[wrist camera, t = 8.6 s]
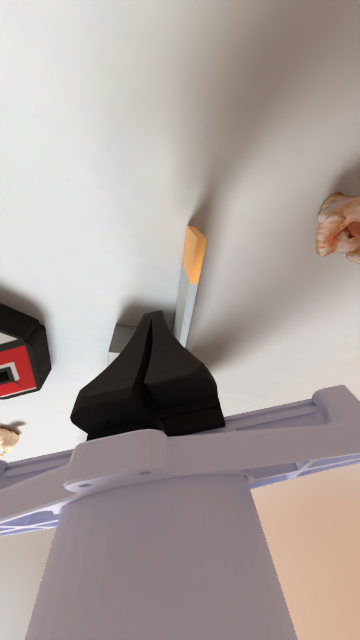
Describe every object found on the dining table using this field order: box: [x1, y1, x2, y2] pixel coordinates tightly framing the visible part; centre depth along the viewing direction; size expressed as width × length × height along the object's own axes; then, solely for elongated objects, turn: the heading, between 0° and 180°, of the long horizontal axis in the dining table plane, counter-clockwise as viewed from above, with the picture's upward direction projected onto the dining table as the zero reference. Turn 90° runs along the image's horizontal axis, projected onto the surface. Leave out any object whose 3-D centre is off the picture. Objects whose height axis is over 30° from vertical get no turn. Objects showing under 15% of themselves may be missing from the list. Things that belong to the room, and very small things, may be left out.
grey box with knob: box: [108, 325, 173, 366], centre depth 26 cm, size 9×9×6 cm
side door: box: [173, 226, 207, 347], centre depth 20 cm, size 1×14×5 cm, turn 173°
